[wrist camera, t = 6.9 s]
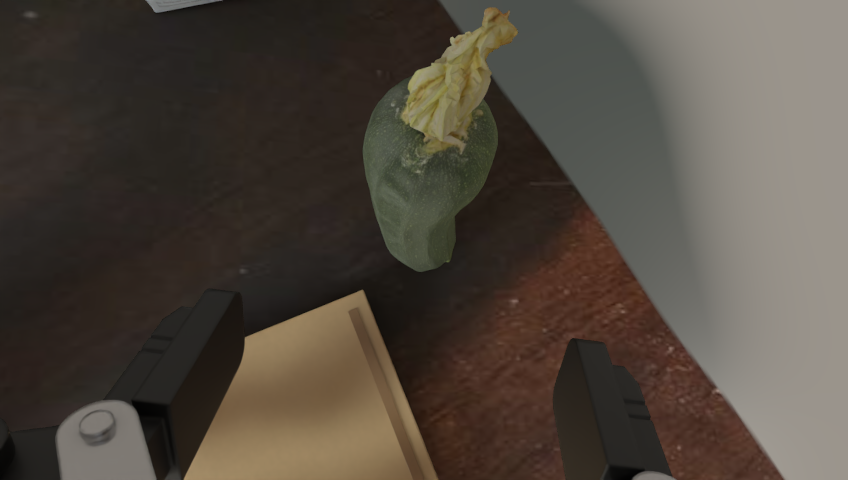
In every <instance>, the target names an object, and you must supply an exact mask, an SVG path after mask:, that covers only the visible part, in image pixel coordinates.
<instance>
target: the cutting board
mask: <svg viewBox="0 0 848 480" xmlns="http://www.w3.org/2000/svg"><path fill="white" fill-rule="evenodd" d="M184 480H439V479H438V476H437V474H436V471H435V468H434V466H433V463H432V461H431V458H430V456H429V453H428V451H427V448H426V446H425V443H424V441H423V438H422V436H421V433H420V431H419V428H418V426H417V423H416V421H415V418H414V416H413V413H412V411H411V408H410V406H409V403H408V400H407V398H406V395H405V393H404V390H403V388H402V385H401V383H400V380H399V378H398V375H397V373H396V370H395V368H394V365H393V363H392V360H391V358H390V355H389V353H388V350H387V348H386V345H385V343H384V340H383V338H382V335H381V333H380V330H379V327H378V325H377V322H376V320H375V317H374V315H373V312H372V310H371V307H370V305H369V302H368V300H367V297H366V295H365V292H364V290H360V291H358V292H355V293H353V294H351V295H348V296H346V297H343V298H341V299H338V300H336V301H333V302H331V303H328V304H326V305H323V306H321V307H318V308H316V309H313V310H311V311H308V312H306V313H304V314H301V315H299V316H296V317H294V318H291V319H289V320H286V321H284V322H281V323H279V324H276V325H274V326H271V327H269V328H266V329H264V330H262V331H259V332H257V333H254V334H252V335H249V336H247V337H245V346H244V353H243V357H242V361H241V364H240V366H239V368H238V370H237V372H236V374H235V377H234V379H233V381H232V383H231V385H230V387H229V389H228V391H227V393H226V395H225V397H224V399H223V401H222V403H221V405H220V407H219V409H218V411H217V413H216V415H215V417H214V419H213V421H212V423H211V425H210V427H209V429H208V431H207V433H206V435H205V437H204V439H203V441H202V443H201V445H200V447H199V449H198V451H197V453H196V455H195V457H194V459H193V462H192V464H191V466H190V468H189V470H188V472H187V474H186V476H185V478H184Z"/></svg>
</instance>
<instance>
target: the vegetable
mask: <svg viewBox="0 0 848 480" xmlns="http://www.w3.org/2000/svg"><path fill="white" fill-rule="evenodd" d="M509 14H510V10H509V11H508V12H507V13H505V14H502V13H501V12H500V11H499V10H498V9H497V8H488V9H486V10H485V11H484V18H483V22H482V25H483V26H482V27H480V28H478V29H477V30H475V31H474V32H472V33H471V32H465V35H458V36H457V37H456V38H455V39H454V38H453V37H451V38H450V42H451V44H452V46H450V47H448V48H447V49H446V51H445V52H444V54H443V55H442V57H441V59H438V60H435V63H431V65H432V66H430V67H427V68H423V69H420V70H418V71H416V72H415V74H414V76H412V77H409V78H407V79H404V80H403V81H401V82H400V83H399V84H397V85H396V86H394V87H393V88H391V89H390V90H389V91H388V92H387V93H386V95H385V96H384V97H383V98H382V99H381V100H380V101H379V102H378V104H377V106H376V107H375V109H374V110H373V113H372V115H371V118H370V121H369V124H368V127H367V130H366V133H365V138H364V145H363V160H364V167H365V174H366V179H367V182H368V185H369V189H370V194H371V199H372V203H373V207H374V211H375V215H376V218H377V220H378V223H379V226H380V228H381V232H382V235H383V238H384V241H385V243H386V246H387V248H388V250H389V251H390V253H391V254H392V255H393V256H394V257H395V258H396V259H398V260H399V261H400V262H402V263H403V264H405V265H407V266H409V267H410V268H412V269H414V270H415V271H418V272H423V271H427V270H431V269H436V268H438V267H440V266H441V265H442V264H443V263H445V262H449V261H450V260H451V257H452V251H453V248H454V245H455V241H456V235H455V215H456V214H457V213H458V212H459V211H460V210H461V209H462V208H463V207H465V206H466V205H467V204H469V203H470V202H471V201H472V200H473V199H474V198H475V197H476V196H477V194H478V193H479V192H480V190H481V188H482V187H483V185H484V183H485V181H486V178H487V175H488V173H489V170H490V168H491V165H492V162H493V159H494V155H495V152H496V149H497V145H498V133H497V128H496V123H495V120H494V118H493V116H492V113H491V111H490V109H489V107H488V105H487V104H486V102H485V101H484V99H483V97H484V96H485V94H486V92H487V89H488V87H489V84H490V81H491V79H490V75H491V74H492V72H491V71H490V70H489V68H488V65H487V62H486V58H487V56H488V54H489V53H490V52H493V50H494V49H498V48H499V46H501V45H505V44H509V43H511V42H512V40H513V37H515V36H516V35H517V34H518V32H517V29H516V28H515V27H514V26H513V25H512V24H511V23H510V22H509V21H508V16H509Z"/></svg>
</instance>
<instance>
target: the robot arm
mask: <svg viewBox="0 0 848 480" xmlns="http://www.w3.org/2000/svg"><path fill="white" fill-rule="evenodd" d="M244 346H245V335H244V319H243V304H242V296H241V294H240V293H239V292H232V291H225V290H217V289H207V290H206V291H205V292H204V293H203V295H202V296H201V298H200V299H199V300H198V302H197V303H196V305H195V306H194V308H190V307H183V306H182V307H180V308H179V309H177V310H176V311H174V312H173V313H171V314H170V315H168V316H167V317H165V318H164V319H163V320H162V321H161V322H160V324H159V325H158V326H157V328H156V329H155V330H154V332H153V333H152V335H151V338H149V339H148V340H147V341H146V343H145V344H144V345H143V347H142V350H141V351H139V352H138V353H137V355H136V356H135V358H134V359H133V360H132V362H131V363H130V364H129V366H128V367H127V368H126V370H125V371H124V372H123V374H122V375H121V377H120V378H119V379H118V381H117V382H116V383H115V385H114V386H113V387H112V389H111V390H110V391H109V393H108V394H107V395H106V397H105V398H104V399H103V401H98V402H94V403H91V404H88V405H86V406H84V407H81V408H79V409H78V410H76V411H75V412H73V413H72V414H71V415H69V416H68V417H67V418H66V419H65V420H64V421H63V422H62V424H61V425H58V426H52V427H45V428H37V429H29V430H22V431H14V432H9V429H8V427H7V424H6V422H5V421H4V420H3V419H1V418H0V480H184V478H185V476H186V474H187V472H188V470H189V468H190V466H191V464H192V462H193V459H194V457H195V455H196V453H197V451H198V449H199V447H200V445H201V443H202V441H203V439H204V437H205V435H206V433H207V431H208V429H209V427H210V425H211V423H212V421H213V419H214V417H215V415H216V413H217V411H218V409H219V407H220V405H221V403H222V401H223V399H224V397H225V395H226V393H227V391H228V389H229V387H230V385H231V383H232V381H233V379H234V377H235V374H236V372H237V370H238V368H239V366H240V364H241V361H242V357H243V353H244ZM553 409H554V415H555V420H556V426H557V432H558V437H559V443H560V449H561V455H562V460H563V466H564V472H565V477H566V480H676V479H674V478H673V477H672V474H671V471H670V469H669V466H668V463H667V461H666V458H665V455H664V452H663V450H662V447H661V444H660V441H659V439H658V436H657V433H656V430H655V428H654V425H653V422H652V421H651V420H650V414H649V411H648V408H647V406H646V405H645V400H644V397H643V395H642V392H641V389H640V386H639V384H638V383H637V381H636V380H635V379H634V378H633V377H632V375H631V374H630V373H629V372H628V371H627V369H626V368H625V367H623V366H616V365H612V363H611V360H610V357H609V354H608V351H607V348H606V345H605V344H604V343H603V342H598V341H590V340H583V339H575V338H572V339H571V340H570V342H569V344H568V346H567V349H566V352H565V355H564V358H563V362H562V365H561V368H560V371H559V374H558V377H557V380H556V383H555V387H554V394H553Z"/></svg>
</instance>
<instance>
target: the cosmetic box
mask: <svg viewBox="0 0 848 480" xmlns="http://www.w3.org/2000/svg"><path fill="white" fill-rule="evenodd" d="M146 1H147V2H148V3H149V4H150V6H151V7H152V8H153V10H154V11H155V12H156V13H158V12H165V11H170V10H175V9H180V8H185V7H190V6H195V5H201V4H206V3H212V2H217V1H223V0H146Z"/></svg>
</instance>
